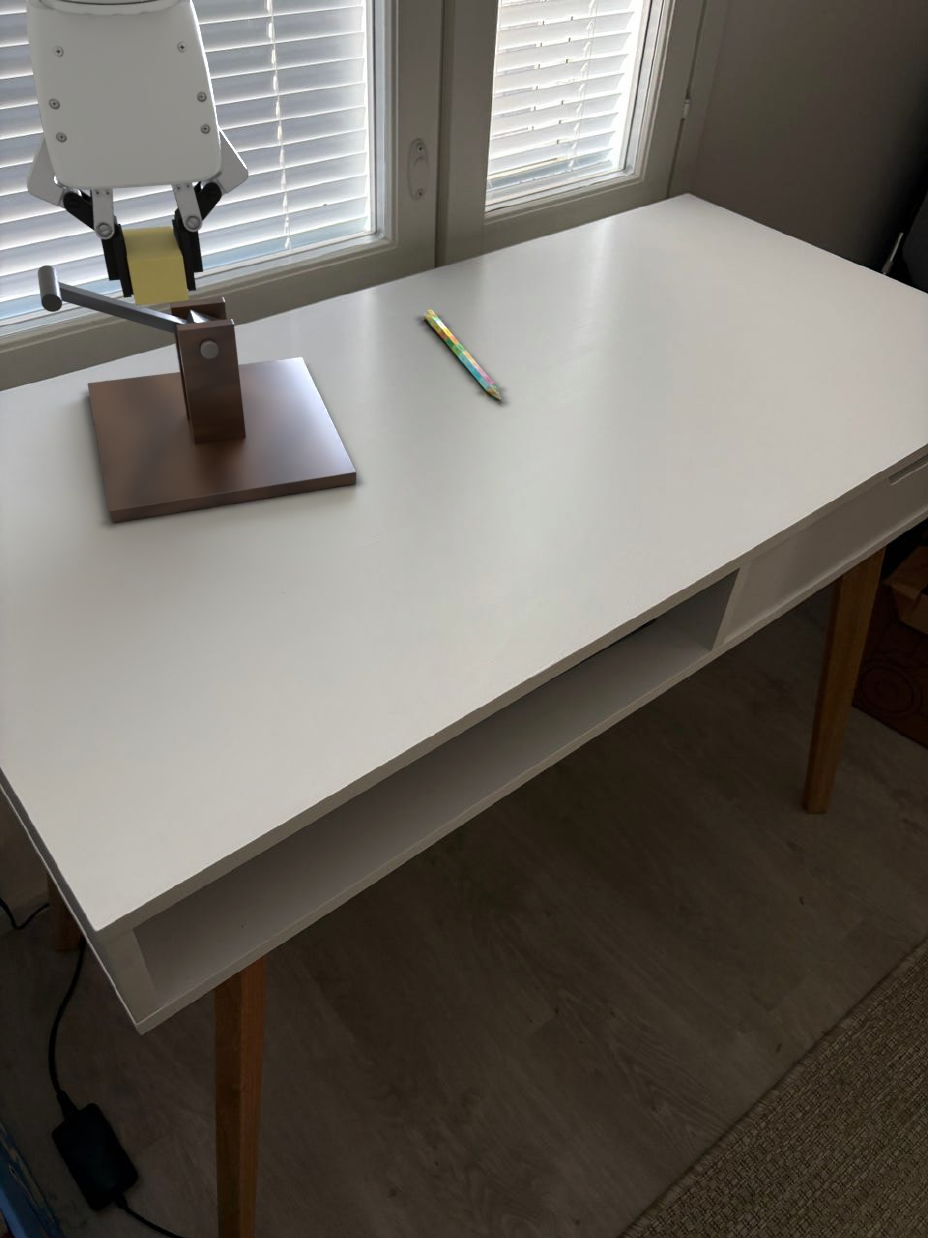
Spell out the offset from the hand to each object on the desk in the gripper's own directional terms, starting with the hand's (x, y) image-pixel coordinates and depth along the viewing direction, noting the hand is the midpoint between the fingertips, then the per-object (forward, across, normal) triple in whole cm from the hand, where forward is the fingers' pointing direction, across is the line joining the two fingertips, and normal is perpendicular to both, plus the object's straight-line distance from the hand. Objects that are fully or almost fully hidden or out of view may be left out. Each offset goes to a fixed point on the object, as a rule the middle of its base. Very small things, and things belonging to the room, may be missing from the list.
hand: (157, 282), depth 68 cm
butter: (0, 0, 0) cm, 0 cm away
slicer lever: (+8, +2, -10) cm, 13 cm away
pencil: (+20, -29, -19) cm, 40 cm away
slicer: (+20, -4, -10) cm, 22 cm away
